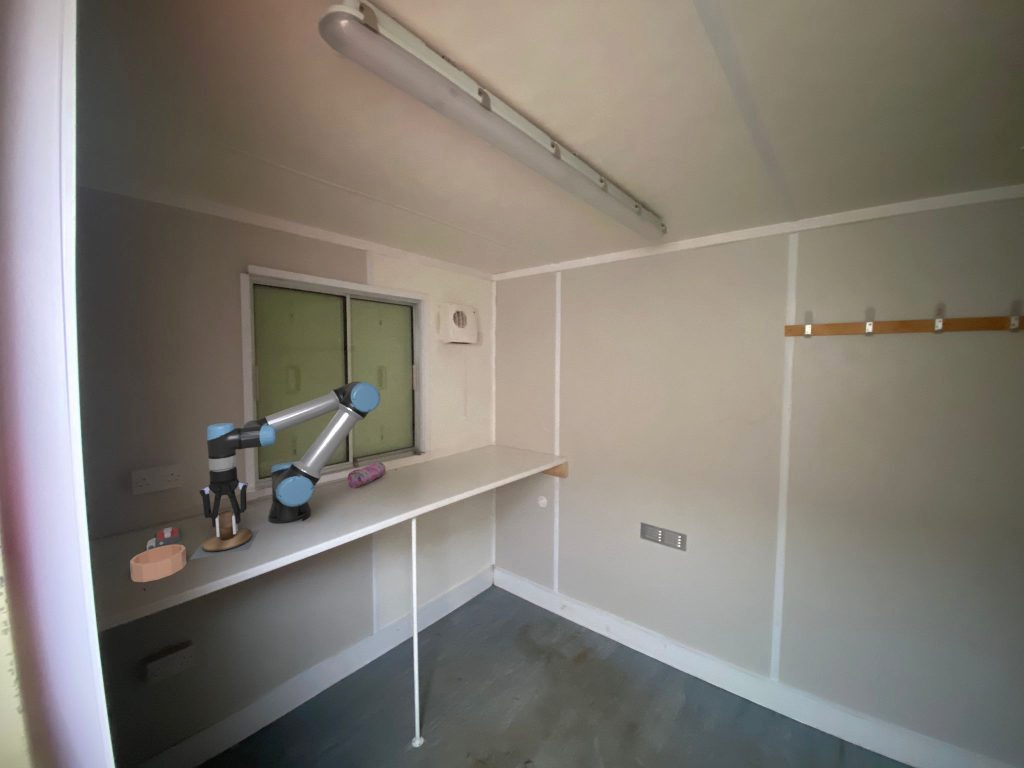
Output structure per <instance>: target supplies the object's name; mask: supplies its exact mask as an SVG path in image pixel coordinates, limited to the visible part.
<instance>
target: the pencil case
mask: <svg viewBox="0 0 1024 768" xmlns="http://www.w3.org/2000/svg"><path fill="white" fill-rule="evenodd" d="M385 473H386V466H385V464H384V463H383V462H380V461H375V462H374V463H372V464H370V465H367V466H364V467H362V468H358V469H355V470H352V471H350V472H349V473H348V475H347V481H348V482H347V483H348V486H349V488H350V489H351V488H352V489H357V488H359V487H362V486H364V485H367V484H369V483H371V482H372V481H374V480H376V479H378V478H381V477H383V476H384V475H385Z"/></svg>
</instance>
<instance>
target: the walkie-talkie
mask: <svg viewBox="0 0 1024 768" xmlns="http://www.w3.org/2000/svg"><path fill="white" fill-rule="evenodd" d="M181 540H182V534H181V528H180V526H177V525H175V526H171V527H166V528H161V529H159V530H157V531H156V533H155V534H154V537H153V538H151V539H150V540H148V541H147V544H146V551H147V550H150V549H153V548H156V547H160V546H164V545H172V544H175V543H177V542H179V541H181Z"/></svg>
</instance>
